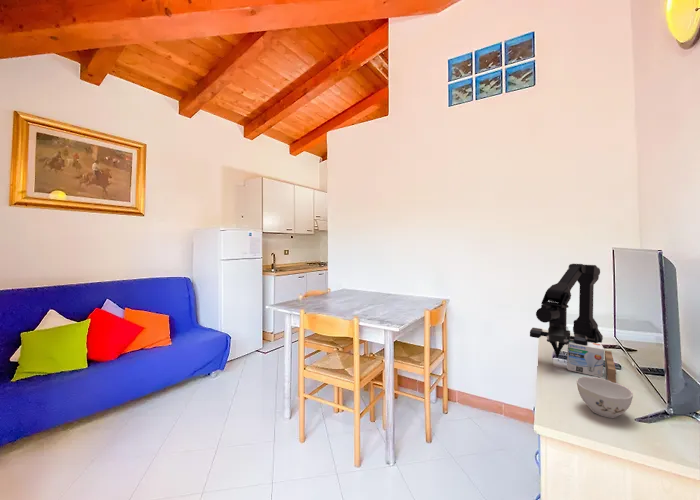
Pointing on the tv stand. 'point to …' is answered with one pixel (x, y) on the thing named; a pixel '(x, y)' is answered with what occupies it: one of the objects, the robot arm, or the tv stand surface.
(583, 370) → the light bulb box
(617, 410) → the white floral bowl
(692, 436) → the tv stand surface
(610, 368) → the walnut plank
